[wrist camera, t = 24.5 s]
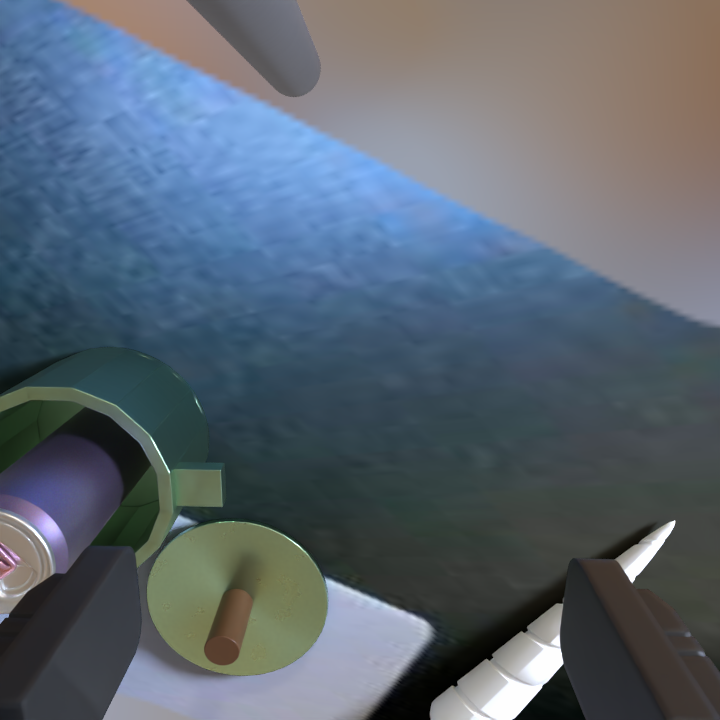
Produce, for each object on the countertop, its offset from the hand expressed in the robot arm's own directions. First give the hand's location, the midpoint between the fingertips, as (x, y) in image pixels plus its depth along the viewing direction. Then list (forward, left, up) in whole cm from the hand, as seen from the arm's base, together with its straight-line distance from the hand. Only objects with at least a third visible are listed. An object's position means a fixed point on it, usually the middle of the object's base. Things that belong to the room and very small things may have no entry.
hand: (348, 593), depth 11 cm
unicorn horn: (+25, +14, -30) cm, 42 cm away
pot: (+10, -17, -30) cm, 36 cm away
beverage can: (+10, -17, -30) cm, 36 cm away
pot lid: (+23, -9, -30) cm, 38 cm away
